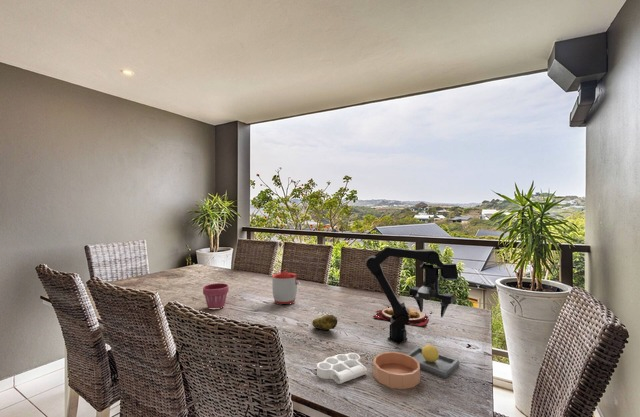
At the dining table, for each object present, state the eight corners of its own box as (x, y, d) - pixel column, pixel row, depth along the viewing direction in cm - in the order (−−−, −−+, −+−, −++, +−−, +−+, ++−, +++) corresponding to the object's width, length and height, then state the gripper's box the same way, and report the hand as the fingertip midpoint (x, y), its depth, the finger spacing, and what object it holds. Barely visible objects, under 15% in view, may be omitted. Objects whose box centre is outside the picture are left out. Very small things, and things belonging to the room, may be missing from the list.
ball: (419, 362, 115) (418, 346, 115) (426, 356, 119) (425, 340, 119) (434, 367, 111) (434, 350, 111) (441, 361, 115) (441, 345, 115)
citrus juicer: (299, 306, 182) (299, 273, 182) (269, 306, 182) (269, 273, 182) (301, 298, 197) (301, 267, 197) (274, 298, 198) (274, 267, 198)
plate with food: (424, 329, 149) (425, 322, 149) (372, 318, 162) (372, 312, 162) (432, 314, 171) (432, 308, 171) (385, 306, 184) (385, 300, 184)
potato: (324, 324, 154) (323, 308, 154) (340, 332, 144) (340, 315, 144) (310, 328, 150) (310, 311, 150) (326, 337, 139) (326, 319, 139)
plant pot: (212, 313, 171) (212, 290, 171) (198, 308, 179) (198, 286, 179) (233, 306, 182) (233, 285, 182) (219, 302, 190) (219, 281, 190)
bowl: (364, 375, 107) (364, 362, 107) (389, 359, 118) (389, 348, 118) (405, 394, 96) (405, 380, 96) (427, 375, 107) (427, 362, 107)
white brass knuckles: (332, 390, 99) (309, 369, 112) (374, 373, 109) (349, 356, 121) (332, 379, 99) (309, 360, 112) (374, 364, 109) (349, 348, 121)
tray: (403, 362, 116) (403, 356, 116) (418, 351, 125) (418, 346, 125) (445, 378, 105) (445, 372, 105) (458, 365, 114) (458, 360, 114)
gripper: (402, 278, 134) (402, 314, 134) (445, 286, 121) (445, 325, 121) (414, 274, 142) (415, 308, 142) (456, 281, 129) (456, 318, 129)
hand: (431, 314), depth 133 cm, fingers open, 9 cm apart
